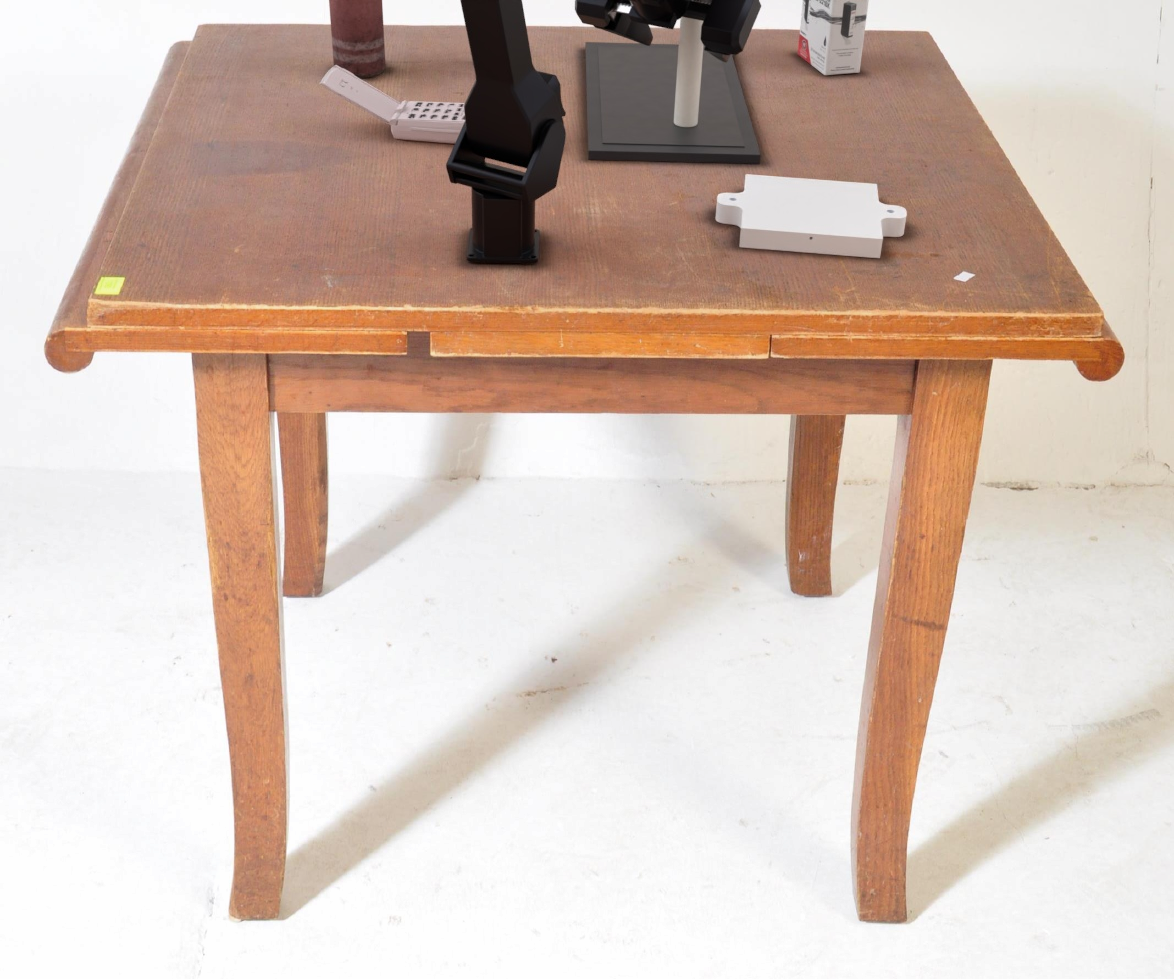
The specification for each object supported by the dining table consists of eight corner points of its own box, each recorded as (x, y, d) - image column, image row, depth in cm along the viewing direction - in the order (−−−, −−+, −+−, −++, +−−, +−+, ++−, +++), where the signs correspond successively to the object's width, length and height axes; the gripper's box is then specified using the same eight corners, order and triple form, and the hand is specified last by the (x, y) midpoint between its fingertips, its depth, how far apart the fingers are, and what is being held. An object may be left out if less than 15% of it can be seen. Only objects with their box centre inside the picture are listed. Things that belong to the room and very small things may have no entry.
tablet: (759, 164, 150) (760, 154, 150) (588, 159, 150) (588, 149, 149) (728, 53, 180) (729, 45, 179) (585, 50, 180) (585, 41, 179)
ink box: (795, 54, 180) (805, -43, 174) (830, 51, 182) (843, -45, 175) (823, 76, 174) (836, -24, 167) (860, 73, 175) (874, -26, 168)
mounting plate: (712, 245, 134) (713, 226, 133) (718, 190, 144) (720, 172, 143) (907, 260, 132) (910, 241, 131) (899, 204, 143) (902, 186, 142)
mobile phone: (331, 64, 155) (561, 78, 152) (335, 116, 158) (560, 132, 156) (315, 83, 150) (552, 98, 148) (320, 137, 153) (552, 153, 151)
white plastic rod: (702, 125, 156) (712, -6, 148) (682, 129, 155) (692, -3, 147) (688, 117, 158) (697, -13, 150) (668, 121, 157) (677, -9, 149)
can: (325, 65, 172) (316, -56, 164) (376, 59, 174) (369, -60, 166) (340, 82, 167) (331, -42, 159) (392, 75, 170) (386, -47, 162)
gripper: (763, -94, 135) (797, -2, 149) (592, -122, 143) (639, -32, 157) (719, 10, 134) (757, 93, 148) (549, -23, 141) (601, 59, 156)
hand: (688, 50), depth 152 cm, fingers open, 9 cm apart
